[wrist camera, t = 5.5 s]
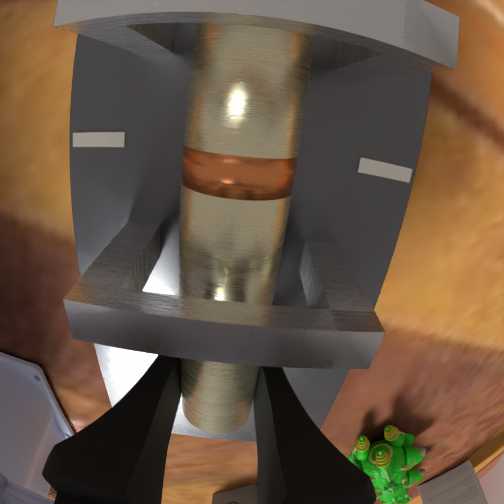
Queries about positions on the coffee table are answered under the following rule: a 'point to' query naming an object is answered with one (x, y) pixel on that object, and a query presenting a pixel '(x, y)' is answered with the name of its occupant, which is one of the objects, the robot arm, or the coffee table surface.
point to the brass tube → (237, 191)
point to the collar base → (302, 200)
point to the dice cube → (237, 496)
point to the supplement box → (454, 487)
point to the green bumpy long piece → (390, 464)
